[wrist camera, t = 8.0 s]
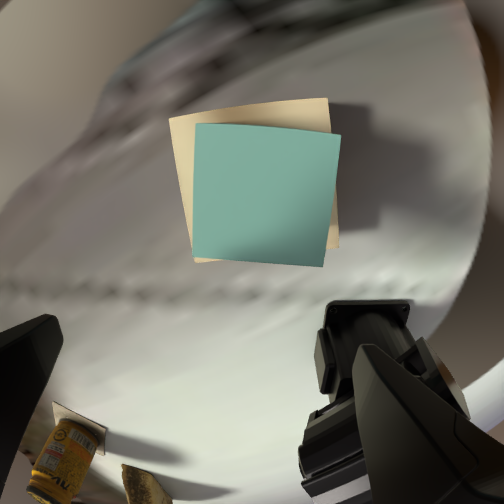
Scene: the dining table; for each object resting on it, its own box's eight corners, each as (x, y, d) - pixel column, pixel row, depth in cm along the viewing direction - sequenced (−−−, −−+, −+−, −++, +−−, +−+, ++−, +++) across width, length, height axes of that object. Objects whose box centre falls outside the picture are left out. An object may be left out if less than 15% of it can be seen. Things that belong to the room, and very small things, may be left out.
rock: (187, 516, 36) (195, 507, 31) (146, 543, 29) (146, 540, 24) (143, 469, 41) (142, 450, 36) (102, 492, 34) (93, 477, 29)
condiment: (57, 432, 32) (24, 496, 21) (52, 400, 29) (10, 474, 18) (104, 455, 33) (77, 524, 22) (106, 427, 30) (72, 509, 19)
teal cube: (317, 131, 15) (341, 135, 10) (307, 225, 17) (322, 267, 12) (216, 122, 15) (195, 123, 10) (212, 218, 17) (192, 257, 12)
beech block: (316, 102, 17) (327, 97, 14) (328, 227, 20) (339, 247, 17) (185, 119, 18) (168, 118, 15) (206, 241, 21) (195, 262, 18)
